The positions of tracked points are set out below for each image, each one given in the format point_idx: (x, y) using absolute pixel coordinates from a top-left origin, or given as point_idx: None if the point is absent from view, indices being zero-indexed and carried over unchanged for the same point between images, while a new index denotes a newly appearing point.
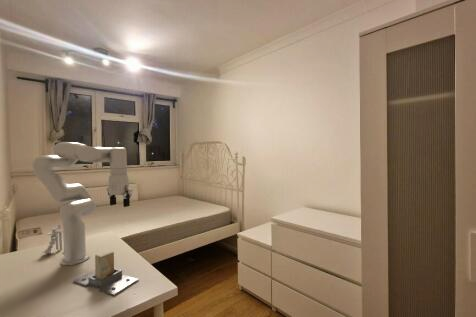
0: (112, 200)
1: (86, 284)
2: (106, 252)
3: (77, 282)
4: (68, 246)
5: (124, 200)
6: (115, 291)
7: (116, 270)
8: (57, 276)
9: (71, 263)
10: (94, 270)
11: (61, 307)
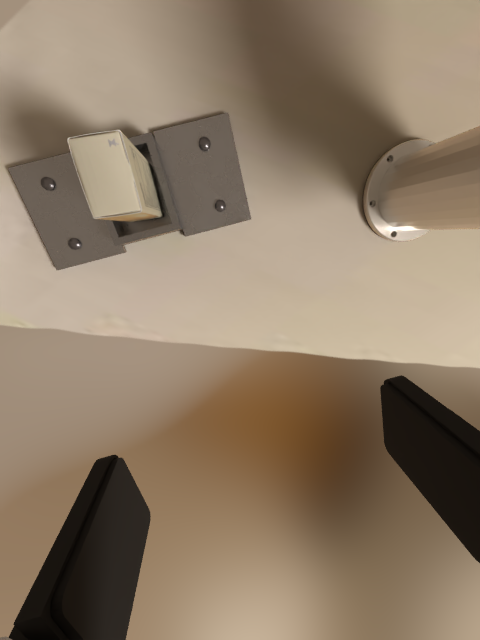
0: (436, 455)
1: (156, 133)
2: (109, 187)
3: (202, 119)
4: (449, 140)
5: (45, 583)
6: (25, 180)
7: (134, 233)
8: (326, 93)
9: (377, 164)
10: (244, 199)
11: (69, 11)
